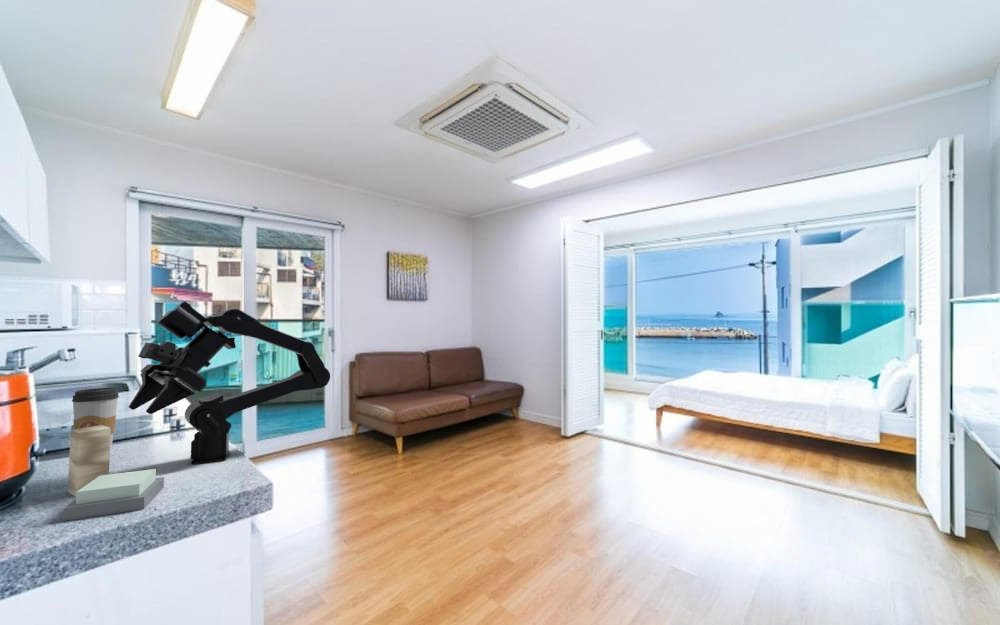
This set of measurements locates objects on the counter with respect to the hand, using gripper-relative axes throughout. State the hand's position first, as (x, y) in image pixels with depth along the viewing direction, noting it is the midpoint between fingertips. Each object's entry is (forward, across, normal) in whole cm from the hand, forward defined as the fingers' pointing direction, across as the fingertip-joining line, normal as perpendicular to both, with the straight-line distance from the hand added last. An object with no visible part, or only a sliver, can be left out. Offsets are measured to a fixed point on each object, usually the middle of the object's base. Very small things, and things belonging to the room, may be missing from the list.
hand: (139, 410), depth 83 cm
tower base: (+14, +13, +4) cm, 20 cm away
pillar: (+15, 0, +4) cm, 15 cm away
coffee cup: (+9, -32, +10) cm, 35 cm away
